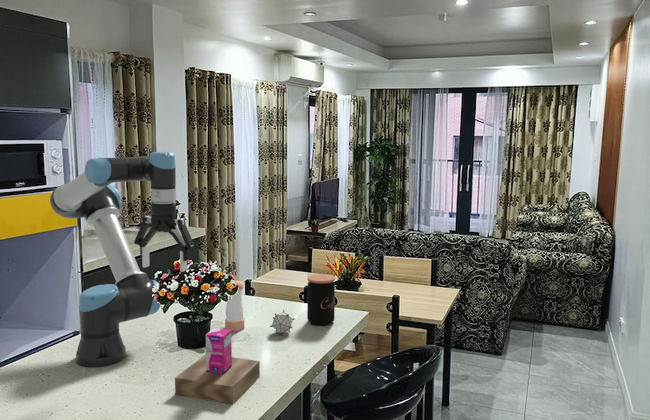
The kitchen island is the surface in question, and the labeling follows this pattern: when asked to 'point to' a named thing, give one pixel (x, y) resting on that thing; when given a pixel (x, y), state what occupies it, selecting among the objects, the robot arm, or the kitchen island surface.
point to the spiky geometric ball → (282, 322)
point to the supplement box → (218, 350)
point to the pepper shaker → (235, 311)
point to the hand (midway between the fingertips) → (164, 268)
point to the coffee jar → (321, 299)
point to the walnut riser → (217, 380)
